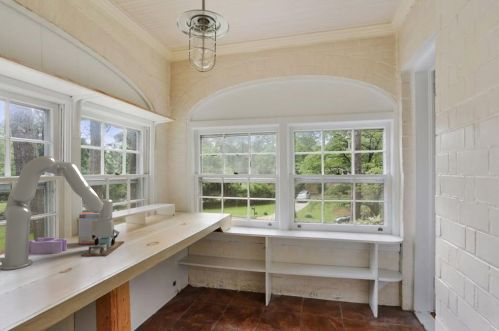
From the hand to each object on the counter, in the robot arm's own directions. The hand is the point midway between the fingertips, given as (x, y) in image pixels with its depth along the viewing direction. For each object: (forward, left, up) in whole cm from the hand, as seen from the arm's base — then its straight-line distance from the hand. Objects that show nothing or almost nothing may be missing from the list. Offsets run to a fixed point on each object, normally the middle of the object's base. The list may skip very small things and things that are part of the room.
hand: (104, 245), depth 168 cm
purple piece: (-32, -3, -3) cm, 32 cm away
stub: (0, 0, -1) cm, 1 cm away
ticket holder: (0, 0, -2) cm, 2 cm away
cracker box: (-14, +13, -3) cm, 20 cm away
